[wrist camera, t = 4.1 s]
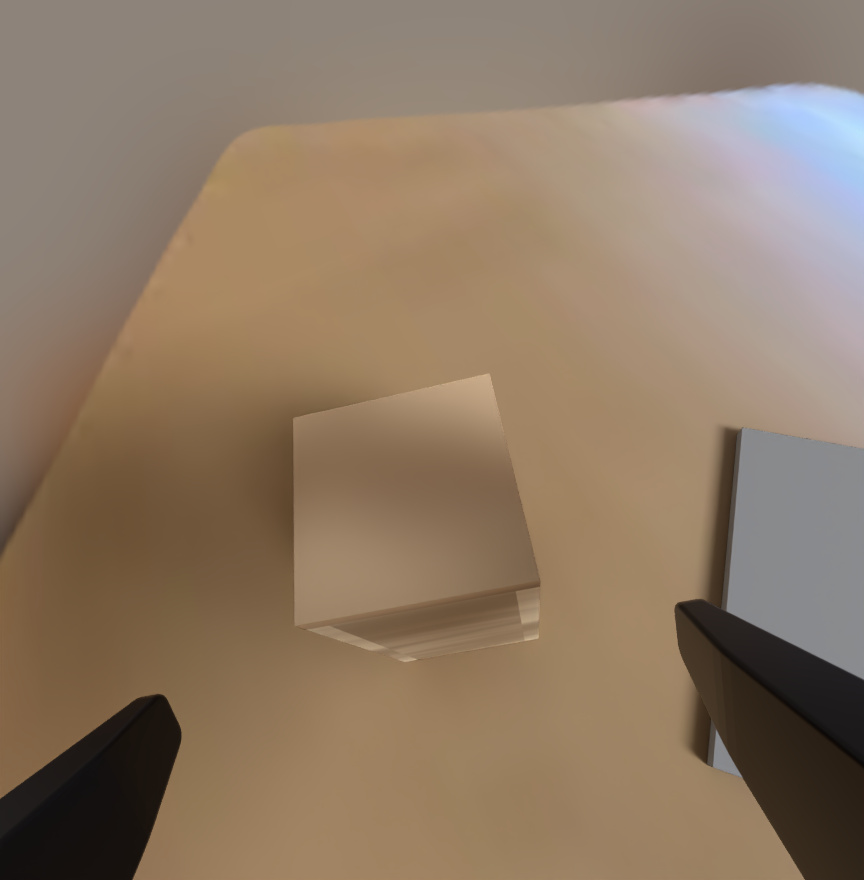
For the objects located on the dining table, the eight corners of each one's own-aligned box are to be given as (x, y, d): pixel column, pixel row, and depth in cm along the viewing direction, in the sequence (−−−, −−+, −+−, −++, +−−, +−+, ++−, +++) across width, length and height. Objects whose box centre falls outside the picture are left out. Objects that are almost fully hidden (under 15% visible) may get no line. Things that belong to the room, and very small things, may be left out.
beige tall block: (538, 638, 18) (540, 580, 10) (404, 661, 19) (294, 626, 10) (508, 510, 21) (489, 373, 12) (391, 533, 21) (293, 418, 13)
